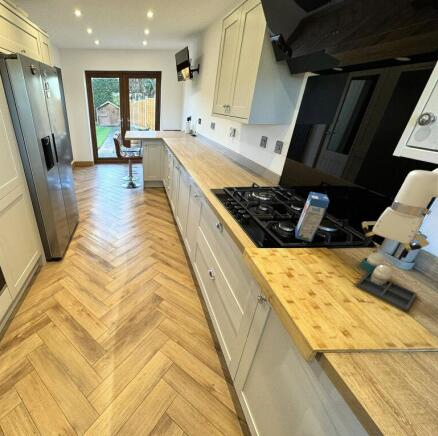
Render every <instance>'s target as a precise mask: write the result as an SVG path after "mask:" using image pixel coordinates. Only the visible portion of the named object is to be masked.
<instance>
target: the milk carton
mask: <svg viewBox="0 0 438 436" xmlns="http://www.w3.org/2000/svg"><path fill="white" fill-rule="evenodd" d="M329 204H330V200H329V197H328V194H325V193H320V192H314V191H310V192H309V194H308V197H307V199H306V202H305V204H304V207H303V210H302V212H301V215H300V216H299V220H298V222H297V224H296V227H295V229H294V230H295V239H298V240H301V241H304V242H309V243H312V242H313V239H314V237H315V235H316V233H317V231H318V229H319V226H320V224H321V222H322V219H323V218H324V215H325V213H326V210H327V208H328V206H329Z"/></svg>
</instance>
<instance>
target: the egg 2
mask: <svg viewBox="0 0 438 436" xmlns="http://www.w3.org/2000/svg"><path fill="white" fill-rule="evenodd" d="M392 276H393V269H392V268H391V267H390V266H388V265H385V264H383V265H379V266H377V267H376V268H375V270H374V271H373V273H372V275H371V281H372V282H375V283H377V284H379V285H383V284H384V283H386V282H387V281H390V278H391V277H392Z"/></svg>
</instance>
